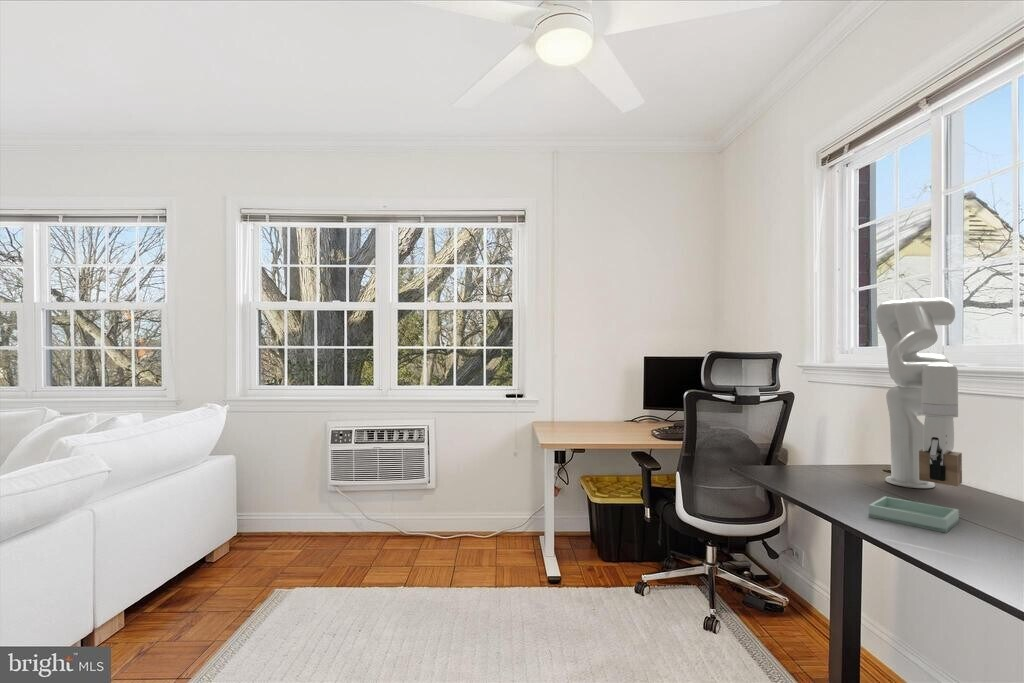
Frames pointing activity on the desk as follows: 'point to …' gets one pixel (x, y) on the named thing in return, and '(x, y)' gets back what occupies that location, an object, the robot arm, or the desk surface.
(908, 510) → the tray
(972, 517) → the desk surface
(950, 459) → the walnut block
